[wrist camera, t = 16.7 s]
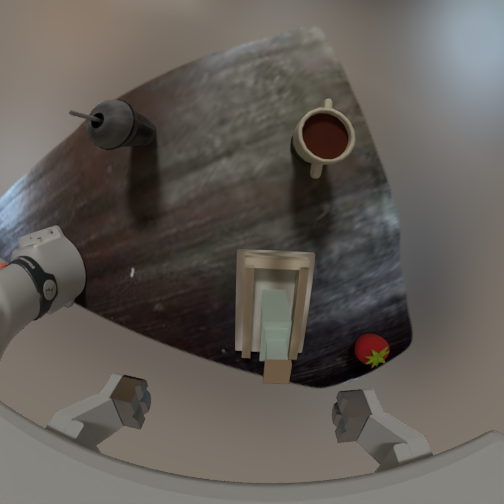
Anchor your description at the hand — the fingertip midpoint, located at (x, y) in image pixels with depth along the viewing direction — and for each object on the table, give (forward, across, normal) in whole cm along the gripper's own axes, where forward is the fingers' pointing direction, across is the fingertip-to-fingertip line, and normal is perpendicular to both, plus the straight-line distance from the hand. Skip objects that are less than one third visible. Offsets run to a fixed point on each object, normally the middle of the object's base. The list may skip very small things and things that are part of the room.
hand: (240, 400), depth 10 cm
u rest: (+37, -3, +14) cm, 40 cm away
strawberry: (+37, -23, +21) cm, 49 cm away
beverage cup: (+37, +20, -16) cm, 45 cm away
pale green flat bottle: (+36, -3, +14) cm, 38 cm away
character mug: (+37, -8, -14) cm, 41 cm away
